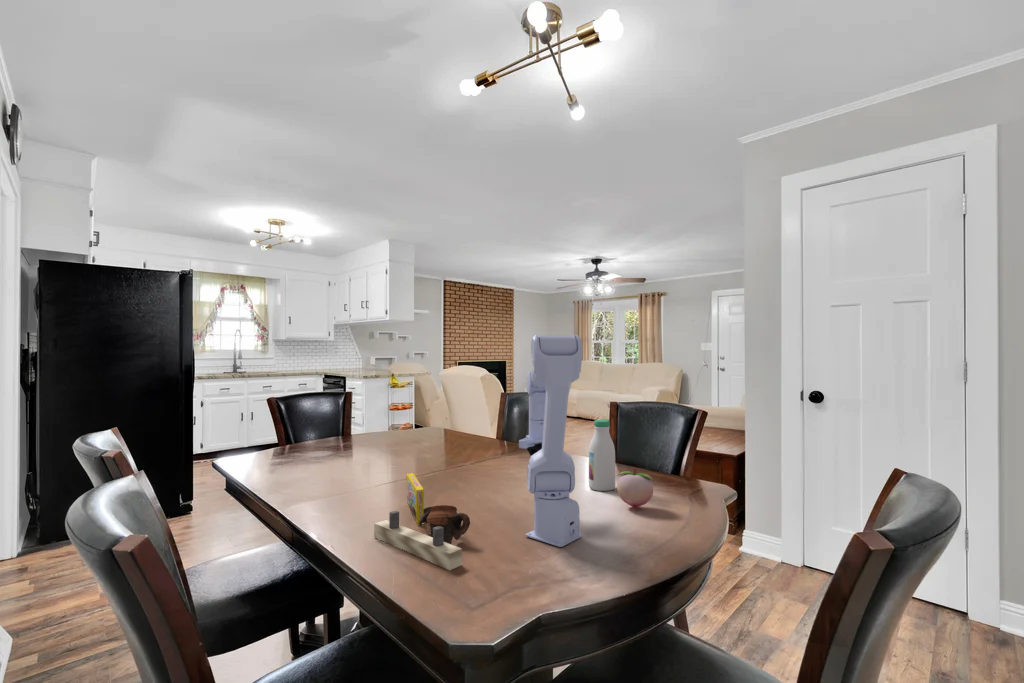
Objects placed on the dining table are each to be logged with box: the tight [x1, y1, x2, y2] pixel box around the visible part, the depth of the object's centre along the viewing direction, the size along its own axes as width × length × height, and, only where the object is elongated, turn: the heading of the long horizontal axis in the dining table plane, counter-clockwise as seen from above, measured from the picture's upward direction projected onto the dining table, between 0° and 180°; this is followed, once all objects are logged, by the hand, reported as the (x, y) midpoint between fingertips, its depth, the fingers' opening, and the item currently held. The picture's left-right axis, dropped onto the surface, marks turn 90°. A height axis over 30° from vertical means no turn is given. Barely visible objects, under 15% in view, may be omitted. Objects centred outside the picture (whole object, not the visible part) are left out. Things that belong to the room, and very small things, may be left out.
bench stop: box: [373, 510, 463, 571], centre depth 96 cm, size 24×3×6 cm, turn 49°
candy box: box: [406, 472, 426, 525], centre depth 118 cm, size 16×2×8 cm, turn 21°
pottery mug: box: [418, 504, 471, 545], centre depth 102 cm, size 12×10×8 cm
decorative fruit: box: [616, 468, 655, 509], centre depth 123 cm, size 9×8×10 cm
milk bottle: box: [588, 419, 616, 492], centre depth 142 cm, size 8×8×20 cm
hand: (540, 473), depth 121 cm, fingers closed
